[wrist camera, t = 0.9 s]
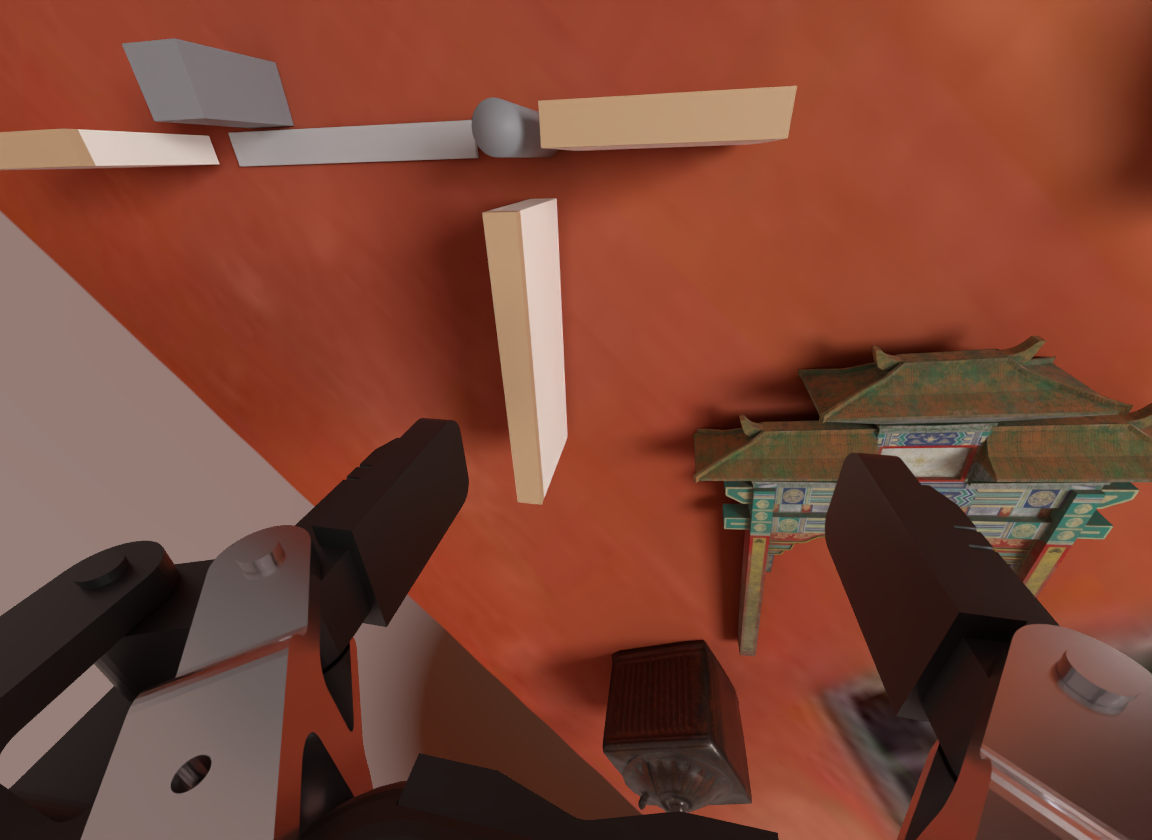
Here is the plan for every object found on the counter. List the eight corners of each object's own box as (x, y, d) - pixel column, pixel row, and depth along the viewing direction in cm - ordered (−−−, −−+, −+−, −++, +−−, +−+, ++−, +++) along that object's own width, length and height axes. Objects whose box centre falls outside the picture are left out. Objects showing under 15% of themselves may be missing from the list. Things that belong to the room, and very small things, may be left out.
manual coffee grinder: (604, 652, 47) (572, 885, 32) (705, 637, 43) (722, 898, 28) (663, 730, 53) (658, 960, 38) (757, 724, 49) (794, 981, 34)
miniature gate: (696, 668, 40) (692, 381, 24) (693, 613, 45) (689, 339, 29) (1057, 704, 34) (1378, 349, 18) (1012, 635, 39) (1237, 302, 22)
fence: (97, 77, 27) (-111, 48, 20) (769, 21, 21) (821, -54, 13) (140, 171, 30) (-30, 176, 23) (750, 150, 23) (786, 147, 16)
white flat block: (531, 198, 25) (482, 212, 19) (556, 198, 25) (515, 212, 19) (547, 435, 33) (517, 502, 27) (567, 437, 33) (541, 504, 27)
